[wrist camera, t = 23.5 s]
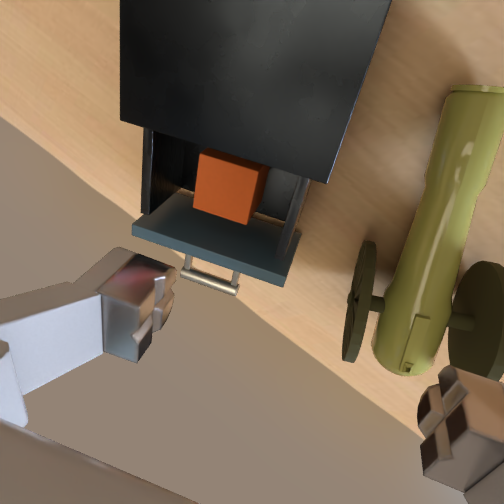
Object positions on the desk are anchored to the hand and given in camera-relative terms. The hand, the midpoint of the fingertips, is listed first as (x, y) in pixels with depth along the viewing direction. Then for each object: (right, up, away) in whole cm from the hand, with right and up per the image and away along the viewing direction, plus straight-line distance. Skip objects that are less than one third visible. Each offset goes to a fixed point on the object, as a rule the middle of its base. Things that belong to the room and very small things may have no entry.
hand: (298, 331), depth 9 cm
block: (-2, +9, +26) cm, 27 cm away
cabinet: (+1, +20, +21) cm, 29 cm away
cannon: (+15, +4, +26) cm, 30 cm away
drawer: (-2, +8, +28) cm, 29 cm away
